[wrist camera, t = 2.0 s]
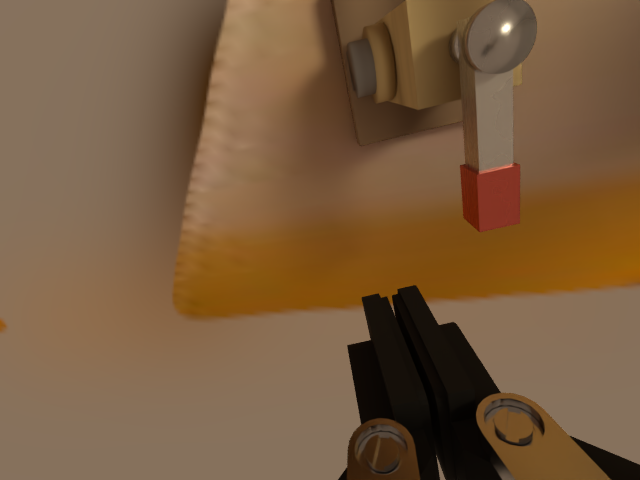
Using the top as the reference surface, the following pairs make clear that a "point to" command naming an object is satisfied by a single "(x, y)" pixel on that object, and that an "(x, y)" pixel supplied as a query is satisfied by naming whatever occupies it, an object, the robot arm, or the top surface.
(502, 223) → the valve lever
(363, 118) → the valve
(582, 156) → the top surface
